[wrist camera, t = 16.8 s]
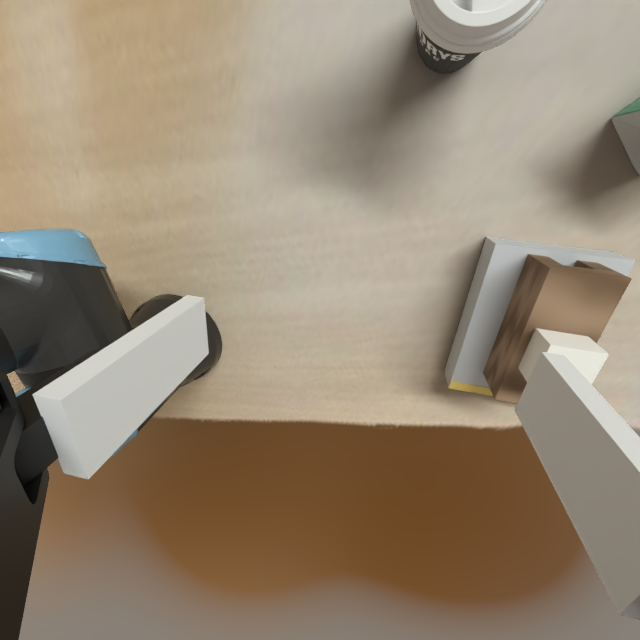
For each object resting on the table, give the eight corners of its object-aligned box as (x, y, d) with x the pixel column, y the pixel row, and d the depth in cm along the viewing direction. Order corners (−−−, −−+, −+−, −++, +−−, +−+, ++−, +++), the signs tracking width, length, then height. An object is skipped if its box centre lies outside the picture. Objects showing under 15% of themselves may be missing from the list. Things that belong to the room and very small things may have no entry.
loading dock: (444, 371, 48) (448, 388, 45) (486, 236, 39) (496, 243, 36) (544, 389, 46) (558, 408, 43) (612, 251, 37) (636, 260, 34)
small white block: (518, 367, 36) (530, 387, 32) (535, 328, 33) (550, 344, 30) (566, 376, 35) (584, 397, 32) (588, 336, 33) (608, 354, 30)
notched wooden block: (539, 382, 42) (559, 411, 37) (482, 372, 43) (494, 399, 38) (597, 262, 35) (631, 278, 30) (528, 253, 36) (550, 267, 31)
